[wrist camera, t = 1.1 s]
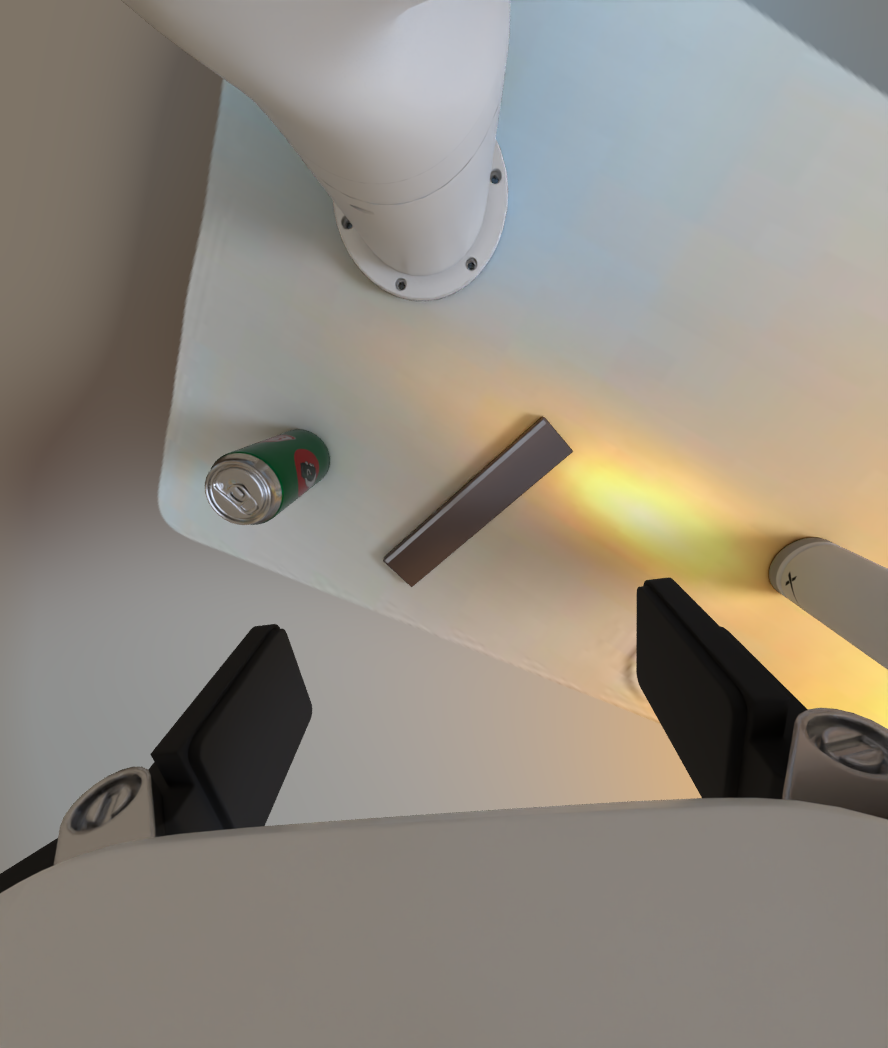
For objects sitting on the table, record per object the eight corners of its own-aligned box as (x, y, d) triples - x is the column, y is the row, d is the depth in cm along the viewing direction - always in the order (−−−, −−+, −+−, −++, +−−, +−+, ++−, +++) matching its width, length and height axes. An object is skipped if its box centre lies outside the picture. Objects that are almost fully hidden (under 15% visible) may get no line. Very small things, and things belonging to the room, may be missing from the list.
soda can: (306, 416, 36) (237, 438, 25) (343, 463, 38) (292, 503, 26) (265, 449, 37) (182, 484, 26) (302, 493, 39) (238, 544, 28)
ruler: (384, 557, 41) (382, 561, 40) (542, 415, 35) (544, 417, 35) (412, 583, 42) (411, 587, 41) (571, 449, 36) (573, 451, 35)
